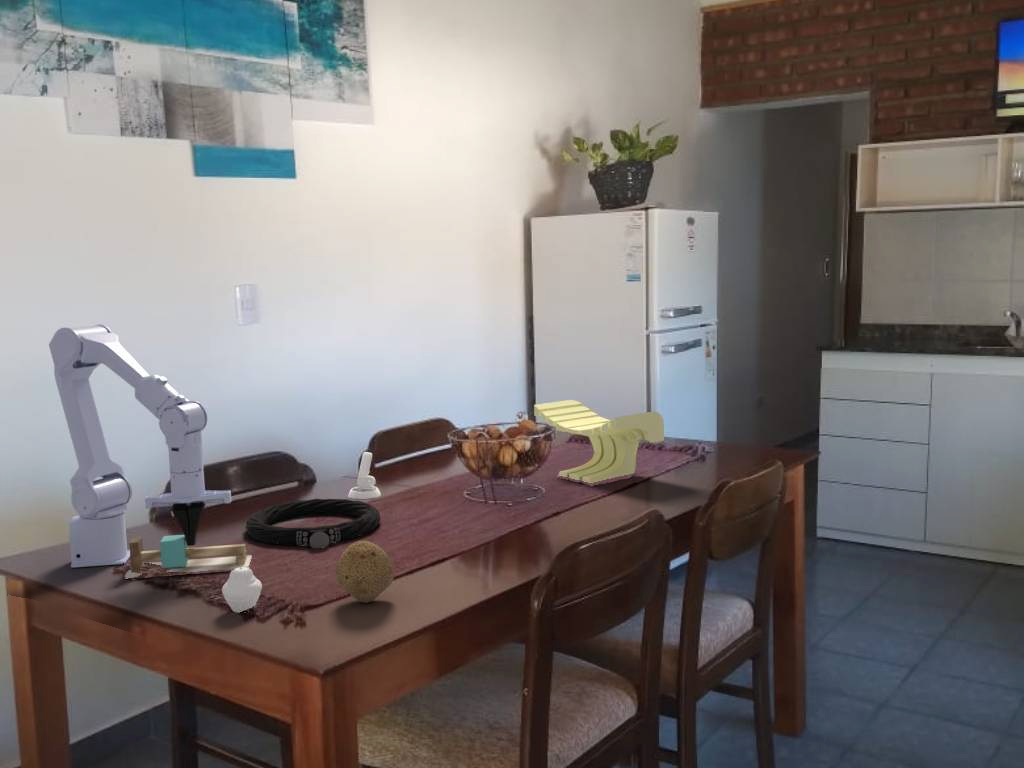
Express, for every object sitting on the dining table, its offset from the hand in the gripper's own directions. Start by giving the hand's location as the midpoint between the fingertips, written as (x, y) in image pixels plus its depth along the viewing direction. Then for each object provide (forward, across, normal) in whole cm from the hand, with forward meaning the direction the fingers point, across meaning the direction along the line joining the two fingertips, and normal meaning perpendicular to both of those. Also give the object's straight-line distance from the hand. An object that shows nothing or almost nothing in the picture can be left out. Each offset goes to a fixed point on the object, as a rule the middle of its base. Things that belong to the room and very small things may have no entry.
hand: (191, 544), depth 175 cm
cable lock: (+5, +21, +22) cm, 31 cm away
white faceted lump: (+5, +11, -24) cm, 27 cm away
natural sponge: (+5, +30, -25) cm, 39 cm away
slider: (+3, -3, 0) cm, 5 cm away
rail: (+5, 0, 0) cm, 5 cm away
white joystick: (+5, +32, +50) cm, 60 cm away
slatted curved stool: (+5, +90, +53) cm, 105 cm away
